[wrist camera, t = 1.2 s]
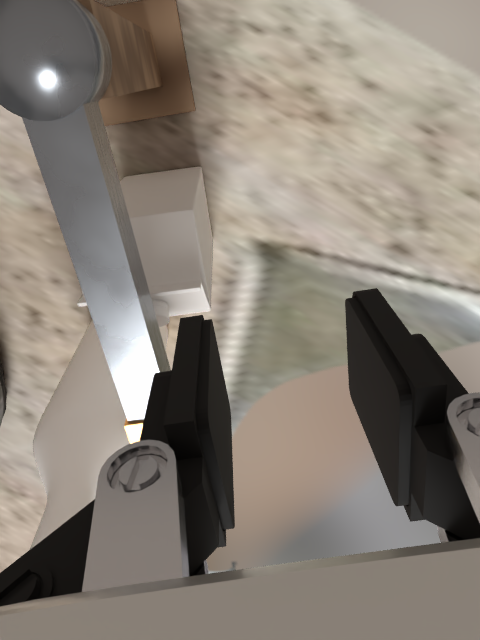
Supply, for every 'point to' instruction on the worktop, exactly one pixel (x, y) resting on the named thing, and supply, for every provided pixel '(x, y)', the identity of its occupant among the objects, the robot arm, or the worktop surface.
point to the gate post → (144, 61)
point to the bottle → (78, 433)
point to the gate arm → (83, 179)
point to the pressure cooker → (2, 394)
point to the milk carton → (172, 239)
